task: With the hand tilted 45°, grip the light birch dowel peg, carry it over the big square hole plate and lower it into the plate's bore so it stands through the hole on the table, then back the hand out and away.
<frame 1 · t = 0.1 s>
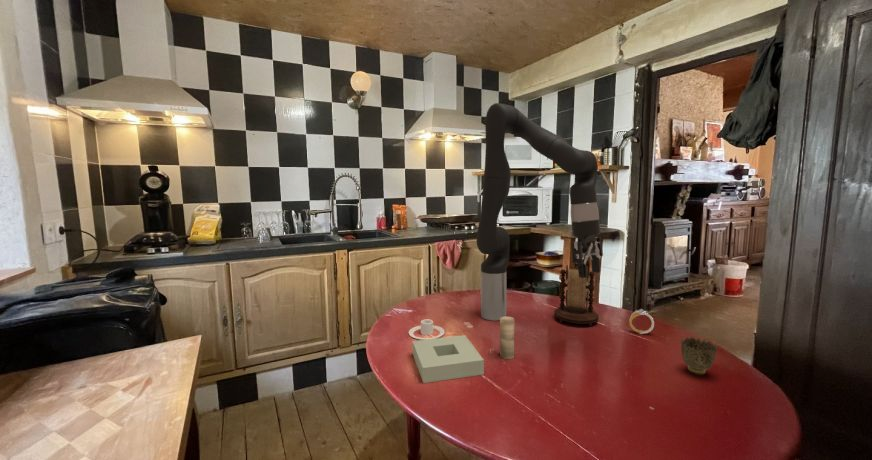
hand: (589, 274, 106), 22 cm above the table, tool pointing down, fingers open, 8 cm apart
square hole plate: (446, 363, 100), on the table
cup: (696, 373, 94), on the table
scroll: (575, 320, 130), on the table
candle holder: (426, 334, 121), on the table
birch peg: (506, 355, 104), on the table
ring: (640, 334, 118), on the table
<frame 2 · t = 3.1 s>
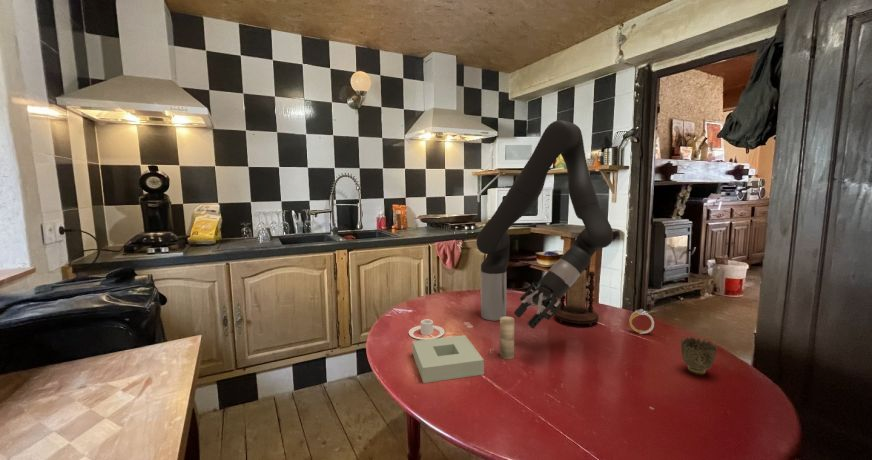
hand: (522, 320, 104), 10 cm above the table, tool tilted 45°, fingers open, 8 cm apart
nothing on the table moved.
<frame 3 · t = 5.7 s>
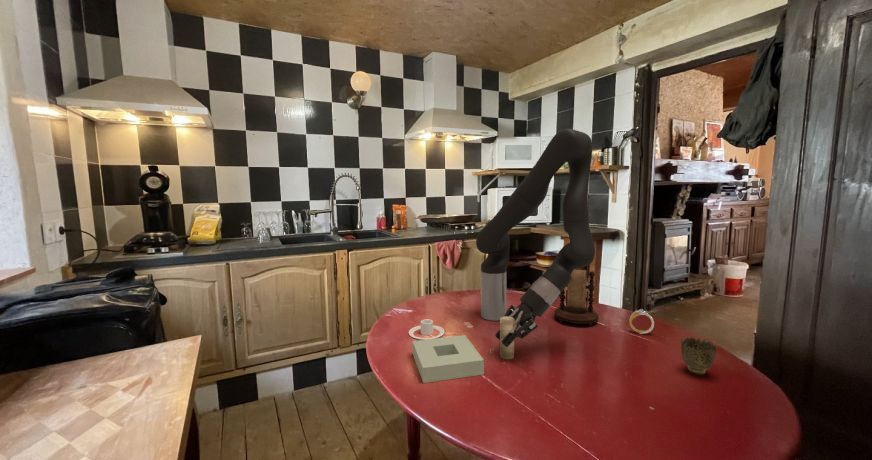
hand: (500, 341, 103), 5 cm above the table, tool tilted 45°, fingers closed on birch peg, 4 cm apart
birch peg: (506, 355, 104), on the table, touching gripper
everything else where it was.
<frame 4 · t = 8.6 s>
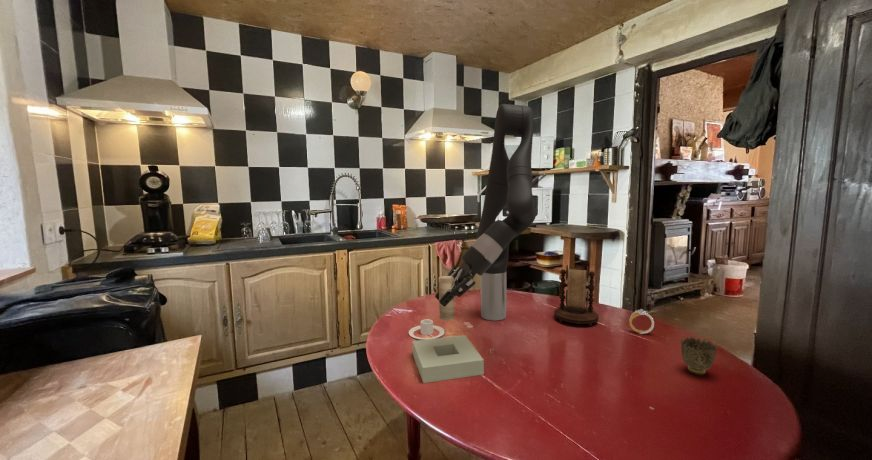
hand: (439, 301, 97), 18 cm above the table, tool tilted 45°, fingers closed on birch peg, 4 cm apart
birch peg: (446, 317, 98), point 13 cm above the table, touching gripper
everything else where it was.
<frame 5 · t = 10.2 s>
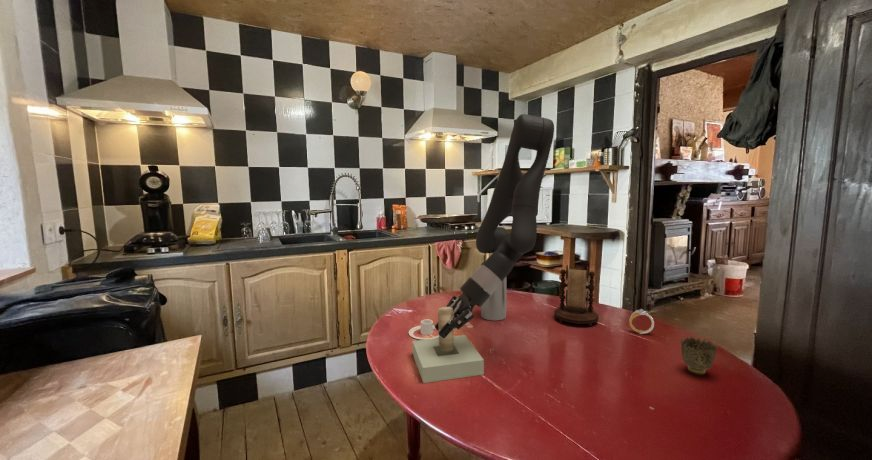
hand: (439, 332, 99), 9 cm above the table, tool tilted 45°, fingers closed on birch peg, 4 cm apart
birch peg: (446, 348, 99), point 5 cm above the table, touching gripper
everything else where it was.
when the fingers open (7 cm above the table, at t = 11.5 s): birch peg drops 2 cm, resting in square hole plate.
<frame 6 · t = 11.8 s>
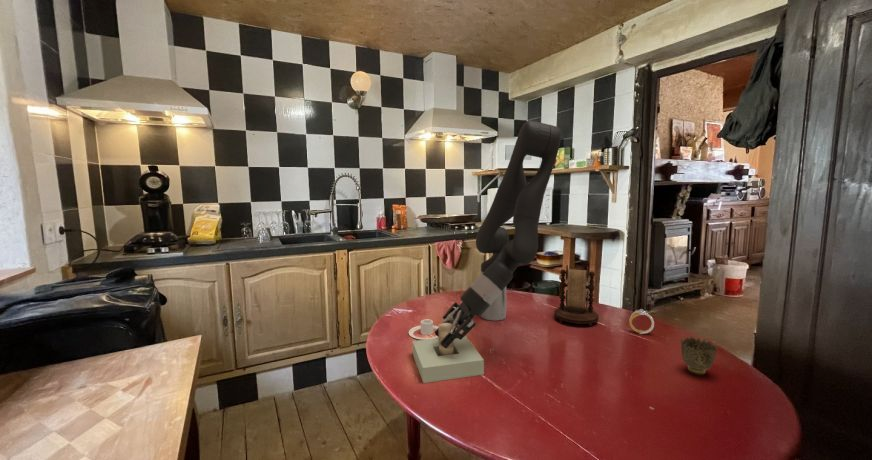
hand: (439, 340, 99), 7 cm above the table, tool tilted 45°, fingers open, 6 cm apart
birch peg: (446, 363, 100), resting in square hole plate
everything else where it was.
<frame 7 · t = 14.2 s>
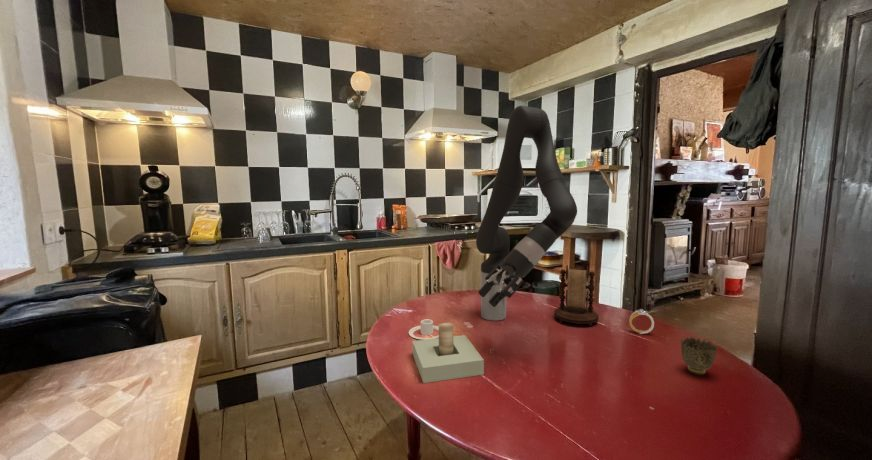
hand: (485, 299, 101), 17 cm above the table, tool tilted 45°, fingers open, 8 cm apart
nothing on the table moved.
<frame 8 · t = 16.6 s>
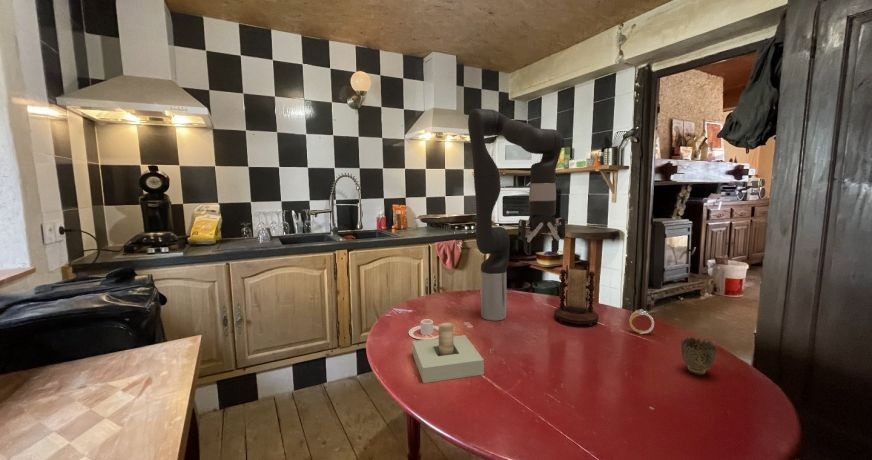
hand: (541, 253, 108), 28 cm above the table, tool pointing down, fingers open, 8 cm apart
nothing on the table moved.
at the end: birch peg 0.1 cm from the square hole plate (horizontally); birch peg resting in square hole plate; the gripper is holding nothing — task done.
